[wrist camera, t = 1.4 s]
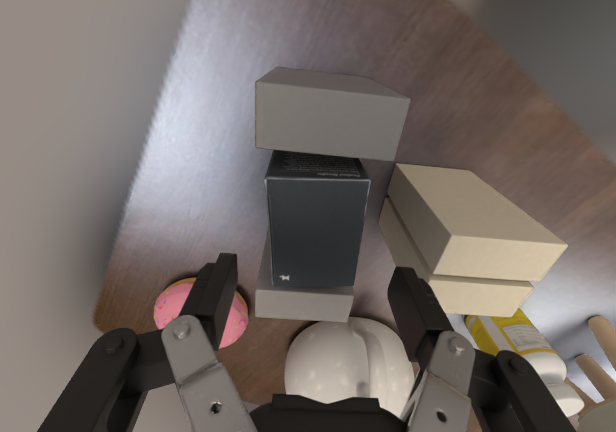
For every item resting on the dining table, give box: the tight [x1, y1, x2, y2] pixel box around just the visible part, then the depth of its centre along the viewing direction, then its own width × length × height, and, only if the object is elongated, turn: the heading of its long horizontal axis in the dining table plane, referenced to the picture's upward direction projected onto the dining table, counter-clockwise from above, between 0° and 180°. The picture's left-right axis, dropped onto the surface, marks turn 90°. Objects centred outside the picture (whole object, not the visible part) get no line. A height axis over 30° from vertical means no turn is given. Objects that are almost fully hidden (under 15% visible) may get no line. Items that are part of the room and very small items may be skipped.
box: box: [264, 150, 371, 287], centre depth 20 cm, size 8×6×11 cm
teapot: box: [285, 317, 414, 418], centre depth 34 cm, size 19×18×14 cm
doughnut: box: [153, 278, 248, 349], centre depth 32 cm, size 11×11×4 cm
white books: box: [378, 163, 568, 317], centre depth 21 cm, size 6×7×11 cm
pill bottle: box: [463, 308, 584, 417], centre depth 30 cm, size 6×6×12 cm
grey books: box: [255, 67, 411, 322], centre depth 20 cm, size 16×7×10 cm, turn 174°
